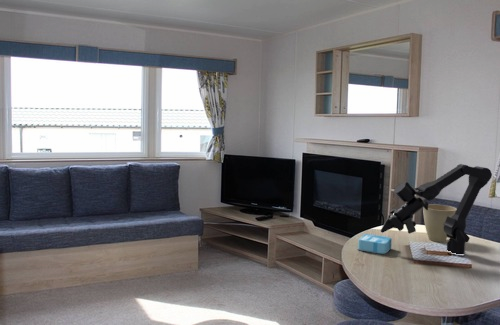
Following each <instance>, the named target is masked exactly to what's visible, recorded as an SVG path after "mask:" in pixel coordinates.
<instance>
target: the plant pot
mask: <svg viewBox="0 0 500 325" xmlns="http://www.w3.org/2000/svg"><path fill="white" fill-rule="evenodd" d="M428 204H429V205H428V210H426V209H425V208H424V207H423V208H422V211H423V220H424V221H423V222H424V227H425V231H426V235H427V238H428V240H429V241H431V242H435V243H444V242H445V243H446V241H447V239H448V237H447V235H446V233H445V232H444V229H443V228H444V225H443V224H444V223H445V221H446V218H447V217H448V216H449V217H452V216H453V215H454V214H455V212H456V210H457V207H454V206H450V205H444V204H435V203H428Z"/></svg>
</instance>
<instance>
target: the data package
mask: <svg viewBox="0 0 500 325" xmlns="http://www.w3.org/2000/svg"><path fill="white" fill-rule="evenodd" d="M357 241H358V243H357V244H358V246H357V249H359V250H358V251H360V250H363V251H362V252H366V251H369V252H368V253H372V252H375V253H374V254H377V253H381V254H380V255H383V254H387V253H388V252H389V250H390V249H391V248H392V237H389V236H382V235H378V234H377V235H376V234H370V233H369V234H368V233H365V234H363V235H362V236H361V237H359V238H358V240H357Z"/></svg>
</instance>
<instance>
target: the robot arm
mask: <svg viewBox="0 0 500 325" xmlns="http://www.w3.org/2000/svg"><path fill="white" fill-rule="evenodd" d="M466 175H467V176H468V185H467V188H466V190H465V192H464V193H463V195H462V198H461V200H460V202H459V204H458V206H457V207H456V209H457V210H456V212H455V214H454V215H453V216H452V217H449V216H448V217H447V218H446V221H445V223H444V224H443V225H444V228H443V229H444V232H445V233H446V235H447V239H448V238H449V239H448V241H447V242H446V244H447V245H446V251H447V250H448V251H451V252H452V253H456V254H465V255H466V243H469V241H470V236H469V235H468V234H467V233H466V232H465V230H466V228H467V217H469V213H470V211H472V207H473V205H474V204H475V201H476V199H477V197H478V195H479V193H480V191H481V189H483V188H484V187H486V185H487V184H488V183H489V181H490V180H491V178H492V176H493V173H492V171H491V170H490V168H488V167H483V166H479V165H477V166H476V165H475V166H470V165H467V164H463V163H459V164H458V165H457V166H456V167H453V168H452V169H451V170H449V171H448V172H446V173H445V174H443V175H441V176H440V177H438V178H436V179H435V180H432V181H428V182H425V183H423V184H421V185H419V186H417V187H415V188H414V187H412V185H410V183H409V182H408V181H403V183H400V184H399V185H397V186H396V187H395V188H394V190H393V193H394V194H395V195H396V196H397V197H398V198H399V199H400V200H401V201H402V202H403V203H404V204H403V203H402V205H401V206H400V207H398V209H396V208H392V209H391V210H390V211H389V215H388V216H387V218H386V220H385V221H384V224H383V225H382V228H381V229H380V233H382V234H383V233H384V232H387V231H389V230H392V229H397V230H398V231H399V232H401V231H403V229H404V228H406V230H407V233H408V234H414V233H417V229H416V226H417V223H416V221H415V220H412V219H413V218H414V215H416V213H418V212H419V211H420V210H421V209H423V207H424V208H425V209H426V210H428V205H429V204H430V203H428V201H433V200H434V199H435V198H437V196H439V194H441V192H442V190H443V189H445V188H447V187H448V186H449V185H451V184H452V183H455V182H457V181H458V180H459V179H461V178H462V177H463V176H464V177H465V176H466ZM424 200H426V201H424ZM390 214H391V215H390Z"/></svg>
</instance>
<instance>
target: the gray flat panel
mask: <svg viewBox="0 0 500 325" xmlns="http://www.w3.org/2000/svg"><path fill="white" fill-rule="evenodd" d="M357 251H361V252H364V251H363V250H359V249H358V248H357ZM365 252H367V253H370V252H369V251H365ZM372 253H373V254H377V255H382V254H381V253H375V252H371V254H372Z"/></svg>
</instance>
